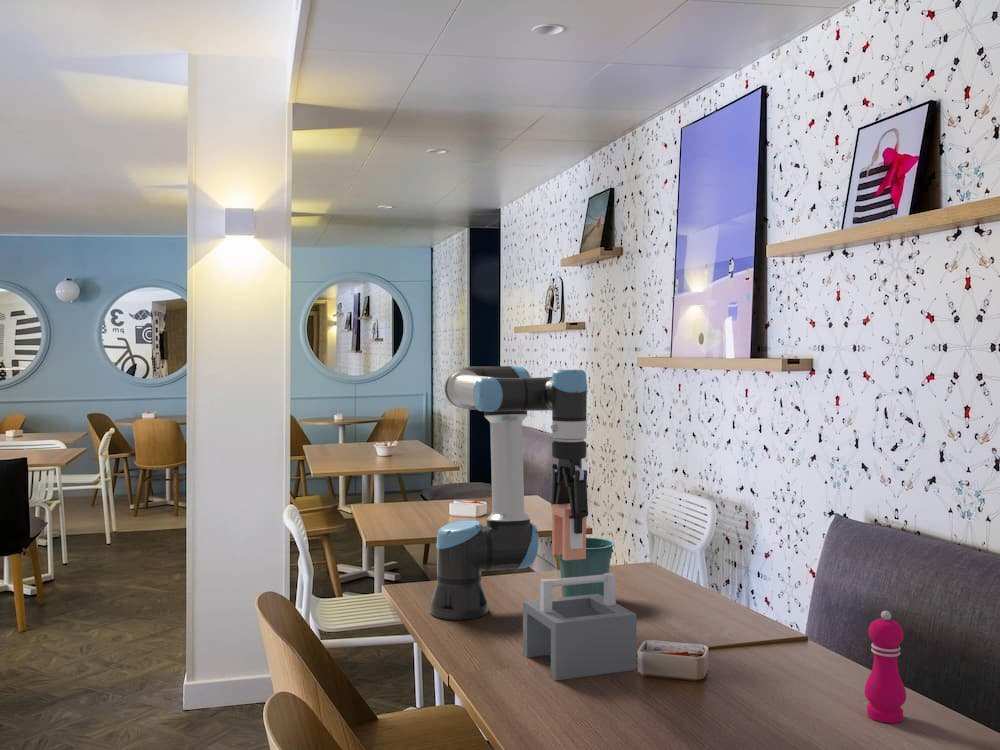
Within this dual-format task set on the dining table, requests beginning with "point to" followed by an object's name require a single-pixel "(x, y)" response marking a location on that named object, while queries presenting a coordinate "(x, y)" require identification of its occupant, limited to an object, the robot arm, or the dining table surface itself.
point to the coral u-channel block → (565, 533)
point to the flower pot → (587, 567)
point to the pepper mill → (885, 672)
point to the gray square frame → (580, 630)
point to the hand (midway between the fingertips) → (569, 544)
